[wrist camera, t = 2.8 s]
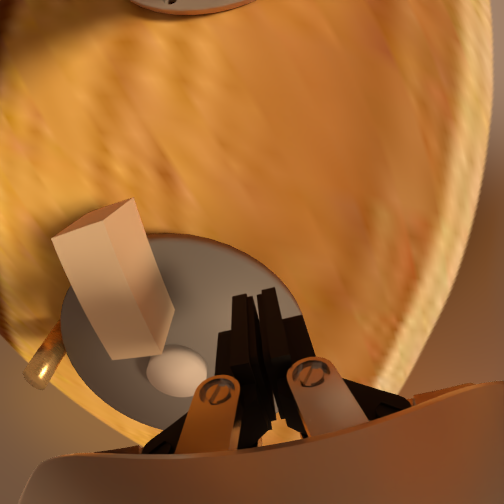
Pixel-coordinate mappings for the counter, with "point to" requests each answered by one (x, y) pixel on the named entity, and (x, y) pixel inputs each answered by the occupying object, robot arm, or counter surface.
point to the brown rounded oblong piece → (46, 359)
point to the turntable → (150, 309)
